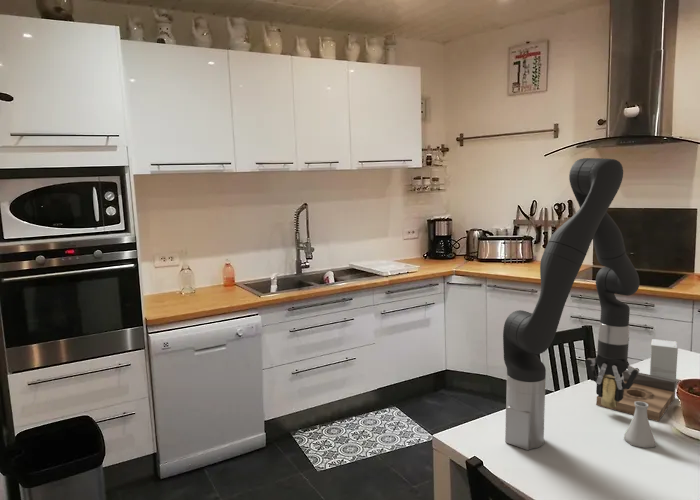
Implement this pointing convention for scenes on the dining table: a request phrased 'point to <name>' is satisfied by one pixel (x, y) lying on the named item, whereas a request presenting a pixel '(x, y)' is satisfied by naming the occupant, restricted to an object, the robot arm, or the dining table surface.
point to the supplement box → (663, 359)
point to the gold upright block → (609, 391)
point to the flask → (640, 428)
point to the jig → (646, 395)
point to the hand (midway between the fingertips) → (609, 398)
